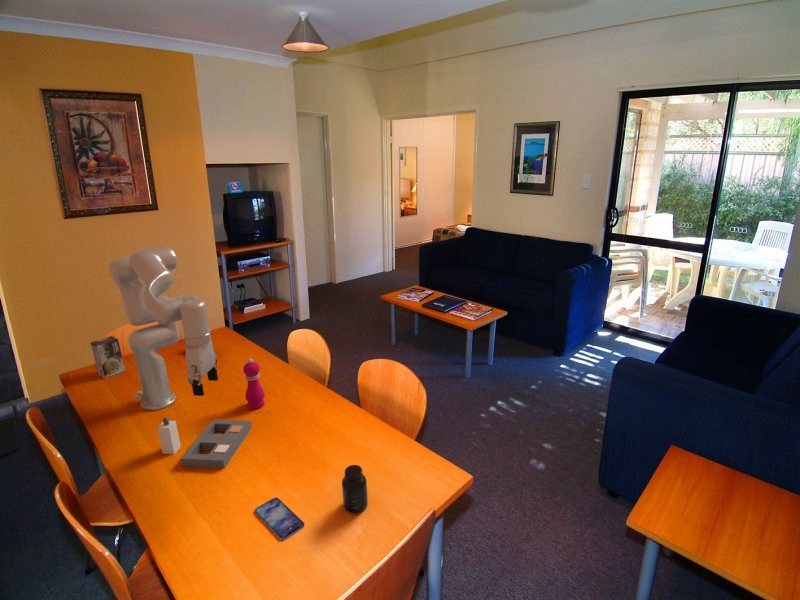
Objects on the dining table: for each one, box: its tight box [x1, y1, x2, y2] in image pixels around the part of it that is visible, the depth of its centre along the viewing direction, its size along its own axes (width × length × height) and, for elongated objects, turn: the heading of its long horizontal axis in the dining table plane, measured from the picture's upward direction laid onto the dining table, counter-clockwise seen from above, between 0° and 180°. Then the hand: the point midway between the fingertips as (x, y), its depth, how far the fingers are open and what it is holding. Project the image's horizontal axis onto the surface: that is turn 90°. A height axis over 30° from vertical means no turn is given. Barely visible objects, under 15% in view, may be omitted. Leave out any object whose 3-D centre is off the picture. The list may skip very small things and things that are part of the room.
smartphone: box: [254, 497, 306, 541], centre depth 125 cm, size 7×1×15 cm
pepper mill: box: [242, 358, 266, 410], centre depth 177 cm, size 7×7×20 cm
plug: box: [157, 417, 181, 455], centre depth 153 cm, size 4×4×12 cm
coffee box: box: [90, 335, 126, 379], centre depth 206 cm, size 9×6×16 cm
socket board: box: [180, 418, 252, 469], centre depth 156 cm, size 14×22×3 cm, turn 175°
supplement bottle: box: [341, 464, 369, 514], centre depth 128 cm, size 7×7×12 cm
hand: (206, 387), depth 149 cm, fingers open, 9 cm apart
